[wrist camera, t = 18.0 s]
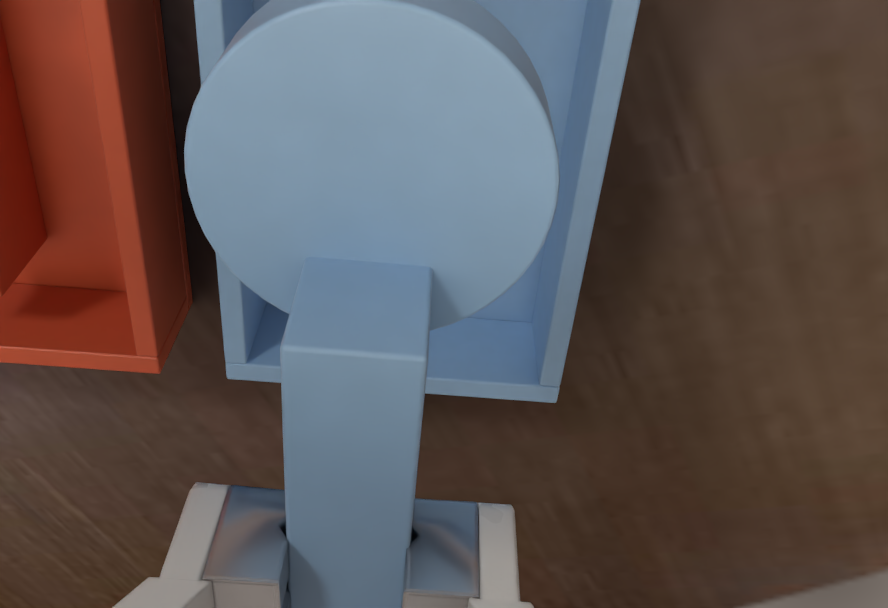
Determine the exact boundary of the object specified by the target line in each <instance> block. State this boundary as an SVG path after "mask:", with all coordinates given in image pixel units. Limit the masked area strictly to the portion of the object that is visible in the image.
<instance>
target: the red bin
mask: <svg viewBox="0 0 888 608" xmlns="http://www.w3.org/2000/svg"><path fill="white" fill-rule="evenodd" d="M0 17H1V22H2V26H3V31H4V36H5V41H6V45H7V50H8V55H9V59H10V64H11V69H12V74H13V78H14V83H15V88H16V92H17V97H18V102H19V107H20V111H21V116H22V121H23V125H24V130H25V135H26V140H27V144H28V149H29V154H30V158H31V163H32V168H33V172H34V177H35V182H36V187H37V191H38V196H39V201H40V205H41V210H42V215H43V220H44V224H45V229H46V234H47V240H46V241H45V242H44V244H43V245H42V246H41V248H40V249H39V250H38V251H37V253H36V254H35V255H34V256H33V258H32V259H31V260H30V262H29V263H28V264H27V265H26V267H25V268H24V269H23V271H22V272H21V273H20V274H19V276H18V277H17V278H16V280H15V281H14V282H13V283H12V285H11V286H10V287H9V289H8V290H7V291H6V292H5V294H4V295H3V296H2V297H0V362H4V363H17V364H31V365H45V366H58V367H72V368H85V369H99V370H113V371H126V372H140V373H153V374H159V373H160V372H161V370H162V368H163V366H164V364H165V361H166V359H167V357H168V355H169V353H170V350H171V348H172V346H173V344H174V342H175V339H176V337H177V335H178V333H179V331H180V328H181V326H182V324H183V322H184V320H185V317H186V315H187V313H188V310H189V309H190V307H191V305H192V302H193V299H192V290H191V281H190V272H189V263H188V254H187V245H186V235H185V226H184V217H183V208H182V199H181V190H180V181H179V172H178V163H177V153H176V144H175V135H174V126H173V117H172V108H171V99H170V90H169V80H168V71H167V62H166V53H165V44H164V35H163V26H162V17H161V8H160V0H0Z"/></svg>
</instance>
